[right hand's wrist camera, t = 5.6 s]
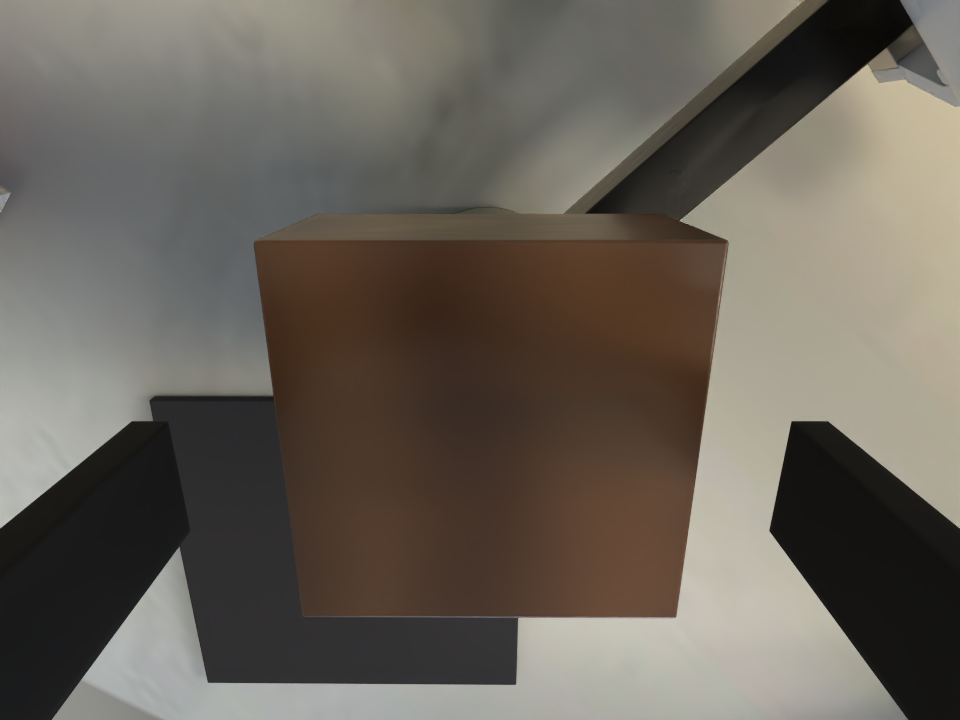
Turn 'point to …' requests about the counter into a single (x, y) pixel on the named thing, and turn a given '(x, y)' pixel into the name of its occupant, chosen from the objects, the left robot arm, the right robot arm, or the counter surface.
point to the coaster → (292, 573)
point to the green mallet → (746, 108)
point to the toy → (3, 197)
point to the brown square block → (490, 409)
